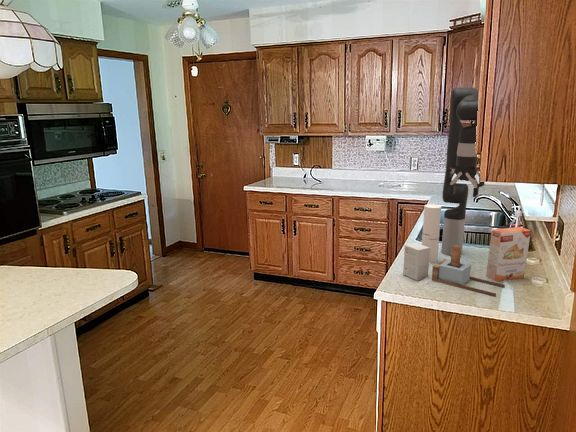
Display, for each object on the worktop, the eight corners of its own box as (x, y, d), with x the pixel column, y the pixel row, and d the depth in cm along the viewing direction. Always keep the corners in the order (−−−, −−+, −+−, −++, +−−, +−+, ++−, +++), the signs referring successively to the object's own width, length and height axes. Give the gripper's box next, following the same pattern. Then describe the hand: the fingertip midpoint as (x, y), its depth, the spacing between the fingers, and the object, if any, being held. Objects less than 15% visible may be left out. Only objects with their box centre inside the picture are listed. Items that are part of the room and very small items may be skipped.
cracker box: (495, 284, 176) (501, 233, 170) (485, 278, 181) (490, 228, 176) (525, 280, 179) (531, 230, 174) (513, 274, 185) (520, 226, 180)
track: (442, 274, 185) (444, 258, 183) (504, 290, 170) (506, 272, 168) (431, 282, 177) (432, 266, 175) (494, 299, 162) (497, 281, 160)
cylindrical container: (424, 256, 208) (428, 203, 201) (439, 259, 203) (444, 205, 197) (418, 260, 202) (421, 206, 196) (433, 263, 198) (437, 208, 192)
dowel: (451, 273, 178) (454, 244, 175) (460, 275, 176) (462, 246, 173) (448, 275, 176) (450, 246, 173) (456, 277, 174) (459, 248, 171)
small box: (428, 277, 182) (430, 247, 179) (416, 281, 179) (418, 250, 176) (413, 271, 189) (415, 242, 186) (402, 274, 186) (404, 244, 183)
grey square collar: (447, 274, 183) (448, 259, 181) (469, 279, 177) (471, 264, 175) (438, 280, 176) (439, 265, 175) (461, 286, 170) (462, 270, 169)
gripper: (489, 154, 171) (485, 196, 175) (452, 152, 180) (449, 191, 185) (482, 157, 166) (478, 199, 170) (445, 154, 175) (442, 194, 179)
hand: (463, 195), depth 177 cm, fingers open, 8 cm apart
